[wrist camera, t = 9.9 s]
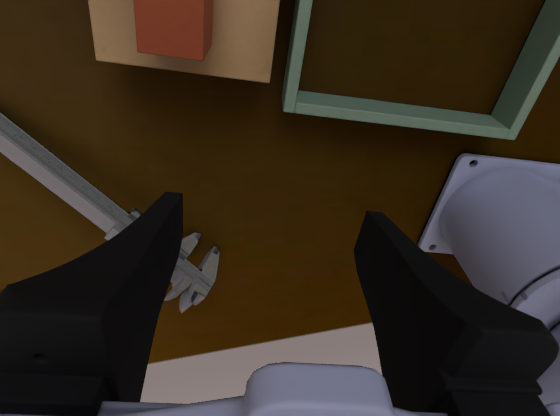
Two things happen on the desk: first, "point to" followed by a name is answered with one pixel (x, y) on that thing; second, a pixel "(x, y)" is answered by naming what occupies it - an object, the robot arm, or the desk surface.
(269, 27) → the l-shaped wooden board
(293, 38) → the rectangular frame
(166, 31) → the white bar red tip
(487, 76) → the desk surface
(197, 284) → the caliper
